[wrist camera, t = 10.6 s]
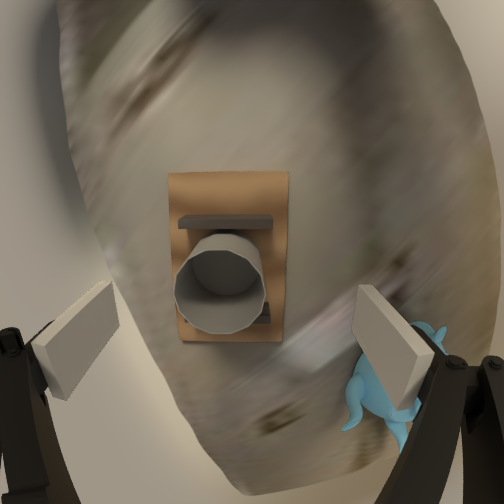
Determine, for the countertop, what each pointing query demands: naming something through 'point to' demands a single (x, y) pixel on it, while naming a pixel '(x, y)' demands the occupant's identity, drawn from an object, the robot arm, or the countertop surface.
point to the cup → (221, 283)
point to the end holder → (239, 218)
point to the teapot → (382, 393)
